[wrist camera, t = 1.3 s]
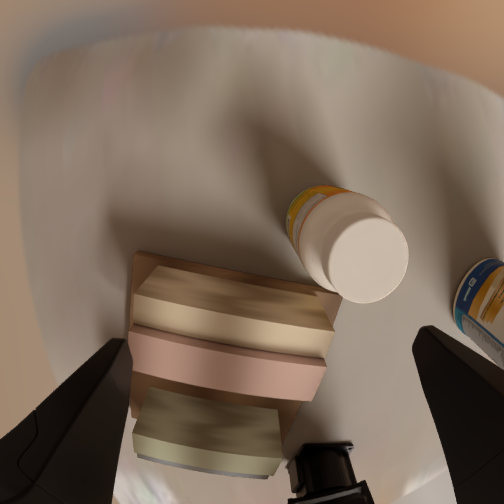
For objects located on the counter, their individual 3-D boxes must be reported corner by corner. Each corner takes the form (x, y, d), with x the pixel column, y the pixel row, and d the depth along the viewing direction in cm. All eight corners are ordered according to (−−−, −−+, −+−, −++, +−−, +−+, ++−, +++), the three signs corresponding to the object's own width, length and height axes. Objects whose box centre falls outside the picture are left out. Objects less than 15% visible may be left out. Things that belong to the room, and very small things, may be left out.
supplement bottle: (368, 215, 22) (440, 251, 12) (324, 270, 23) (369, 336, 13) (316, 168, 21) (367, 173, 11) (269, 227, 22) (285, 274, 12)
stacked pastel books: (339, 290, 23) (370, 336, 16) (281, 437, 28) (287, 488, 21) (138, 250, 22) (98, 284, 15) (134, 411, 27) (115, 459, 20)
